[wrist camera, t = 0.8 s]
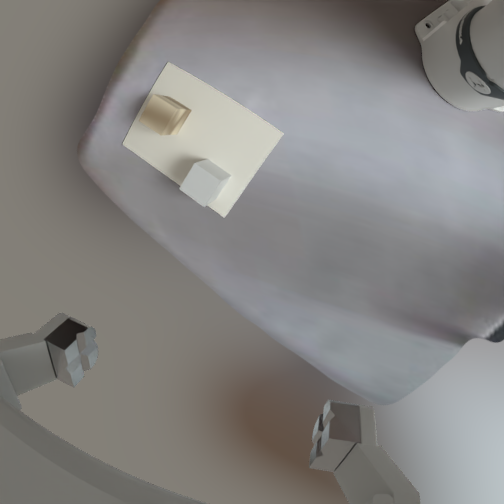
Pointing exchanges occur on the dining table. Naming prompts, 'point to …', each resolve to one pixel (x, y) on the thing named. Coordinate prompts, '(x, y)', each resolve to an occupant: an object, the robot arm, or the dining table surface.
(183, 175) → the cream flat sheet
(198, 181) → the grey block
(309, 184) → the dining table surface
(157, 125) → the birch block
